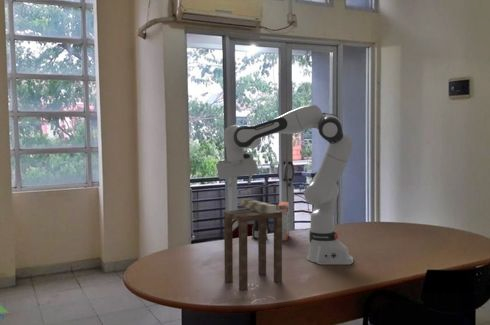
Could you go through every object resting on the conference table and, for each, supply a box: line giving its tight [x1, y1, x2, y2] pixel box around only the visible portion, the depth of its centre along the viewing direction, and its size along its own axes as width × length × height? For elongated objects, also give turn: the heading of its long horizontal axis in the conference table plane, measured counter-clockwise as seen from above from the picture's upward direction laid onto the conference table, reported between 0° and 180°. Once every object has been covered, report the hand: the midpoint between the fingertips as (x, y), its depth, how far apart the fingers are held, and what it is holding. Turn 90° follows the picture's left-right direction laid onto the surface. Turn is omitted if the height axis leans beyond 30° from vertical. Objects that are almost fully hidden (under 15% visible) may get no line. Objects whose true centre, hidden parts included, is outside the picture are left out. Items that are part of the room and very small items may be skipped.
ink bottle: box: [251, 220, 268, 240], centre depth 272 cm, size 10×9×12 cm
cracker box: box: [277, 201, 291, 242], centre depth 271 cm, size 14×6×21 cm, turn 168°
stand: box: [223, 207, 283, 292], centre depth 194 cm, size 14×20×30 cm
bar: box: [240, 198, 277, 213], centre depth 198 cm, size 22×4×3 cm, turn 33°
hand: (240, 185), depth 226 cm, fingers open, 8 cm apart
